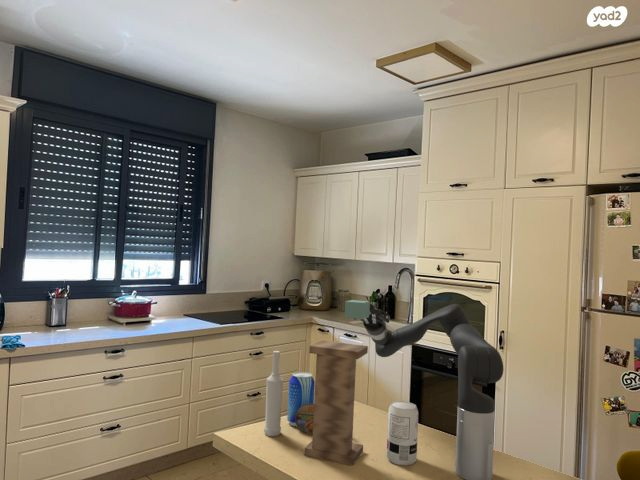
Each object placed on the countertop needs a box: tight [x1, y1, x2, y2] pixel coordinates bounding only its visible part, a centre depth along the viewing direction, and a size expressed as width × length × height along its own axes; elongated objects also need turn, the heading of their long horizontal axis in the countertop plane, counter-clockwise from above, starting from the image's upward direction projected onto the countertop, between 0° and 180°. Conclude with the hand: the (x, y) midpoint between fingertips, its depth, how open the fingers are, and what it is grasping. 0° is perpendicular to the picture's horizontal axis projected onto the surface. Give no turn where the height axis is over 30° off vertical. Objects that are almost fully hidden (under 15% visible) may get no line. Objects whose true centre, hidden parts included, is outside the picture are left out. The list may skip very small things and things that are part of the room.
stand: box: [303, 340, 369, 467], centre depth 131 cm, size 14×10×30 cm
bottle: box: [263, 350, 284, 437], centre depth 144 cm, size 5×5×25 cm
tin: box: [295, 404, 314, 434], centre depth 147 cm, size 15×3×8 cm, turn 84°
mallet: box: [344, 299, 371, 320], centre depth 153 cm, size 6×19×5 cm, turn 159°
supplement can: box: [386, 400, 419, 466], centre depth 129 cm, size 8×8×15 cm
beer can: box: [286, 371, 315, 428], centre depth 153 cm, size 8×8×16 cm
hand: (365, 305), depth 157 cm, fingers closed on mallet, 2 cm apart
